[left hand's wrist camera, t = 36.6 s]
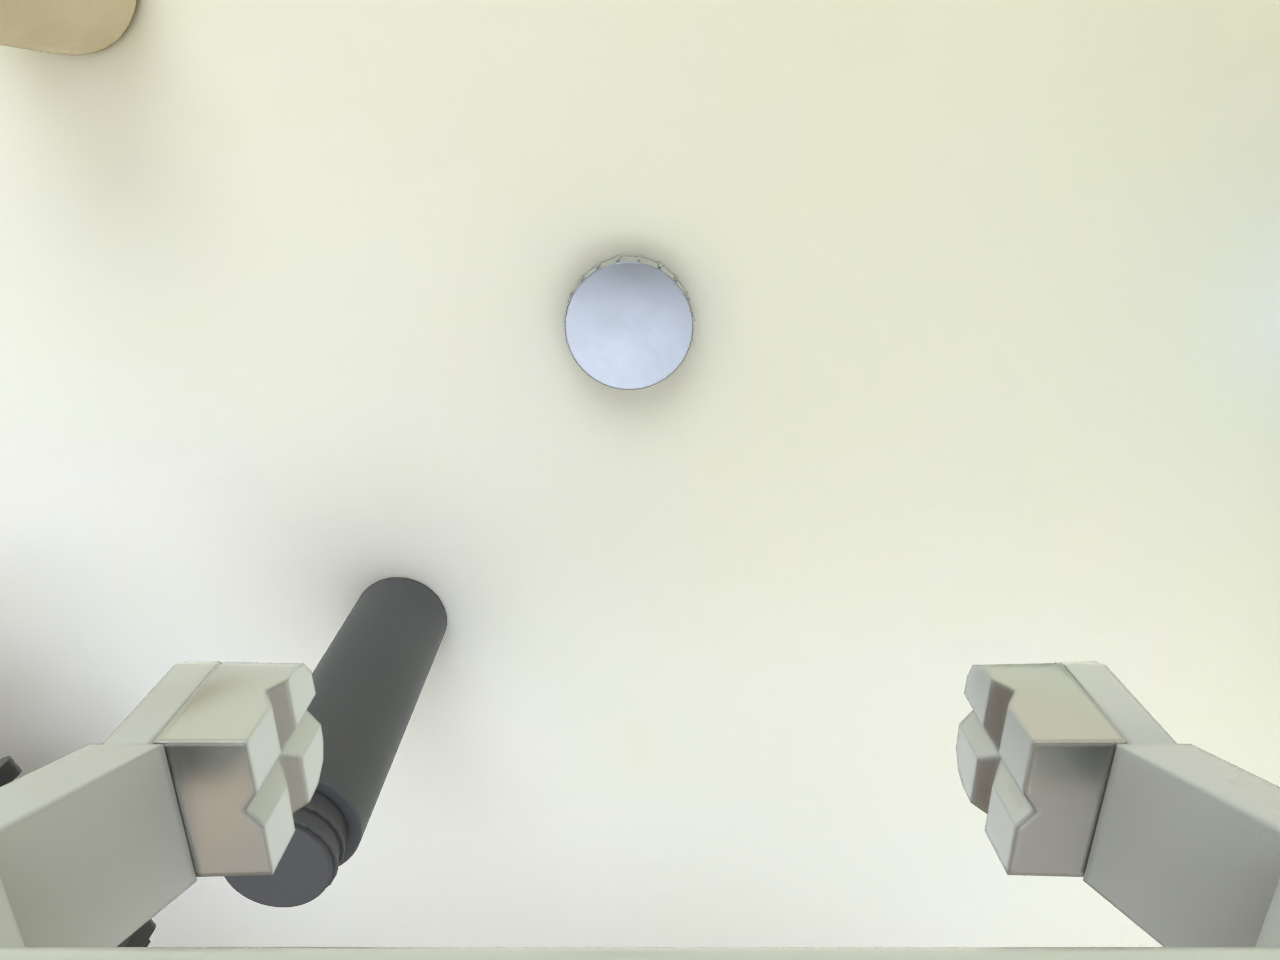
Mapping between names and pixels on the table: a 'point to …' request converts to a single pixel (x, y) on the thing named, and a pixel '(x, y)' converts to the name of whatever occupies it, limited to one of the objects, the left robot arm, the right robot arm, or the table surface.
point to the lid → (629, 322)
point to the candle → (64, 24)
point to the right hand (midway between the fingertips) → (73, 861)
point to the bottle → (355, 732)
